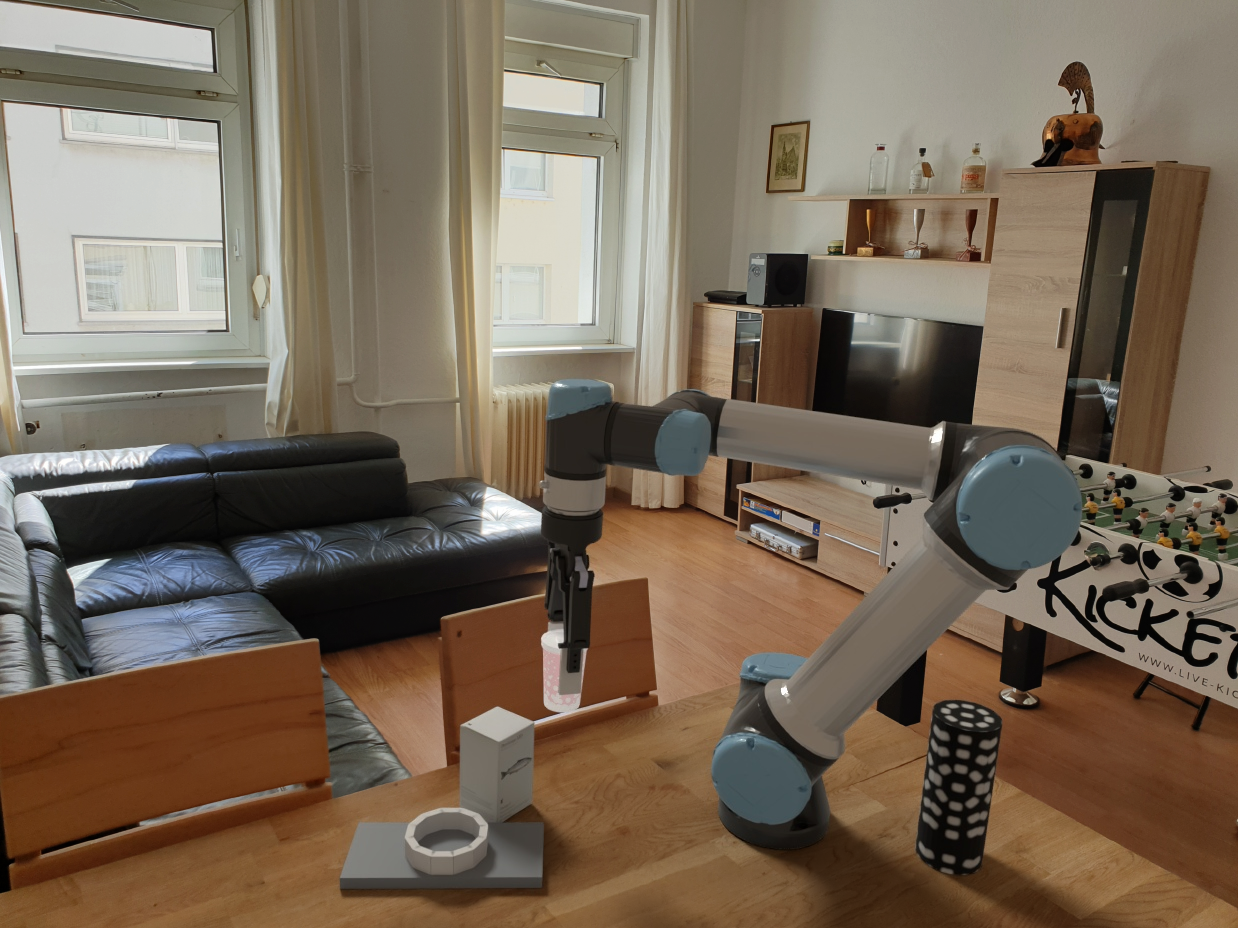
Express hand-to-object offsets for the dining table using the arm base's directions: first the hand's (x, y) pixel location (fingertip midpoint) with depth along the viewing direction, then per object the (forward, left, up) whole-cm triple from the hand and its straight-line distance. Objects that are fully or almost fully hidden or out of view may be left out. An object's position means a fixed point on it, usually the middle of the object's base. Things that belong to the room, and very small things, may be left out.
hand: (562, 679), depth 120 cm
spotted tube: (-49, -16, -22) cm, 56 cm away
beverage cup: (0, 0, -4) cm, 4 cm away
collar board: (+10, +11, -22) cm, 26 cm away
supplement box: (+10, -2, -22) cm, 24 cm away
